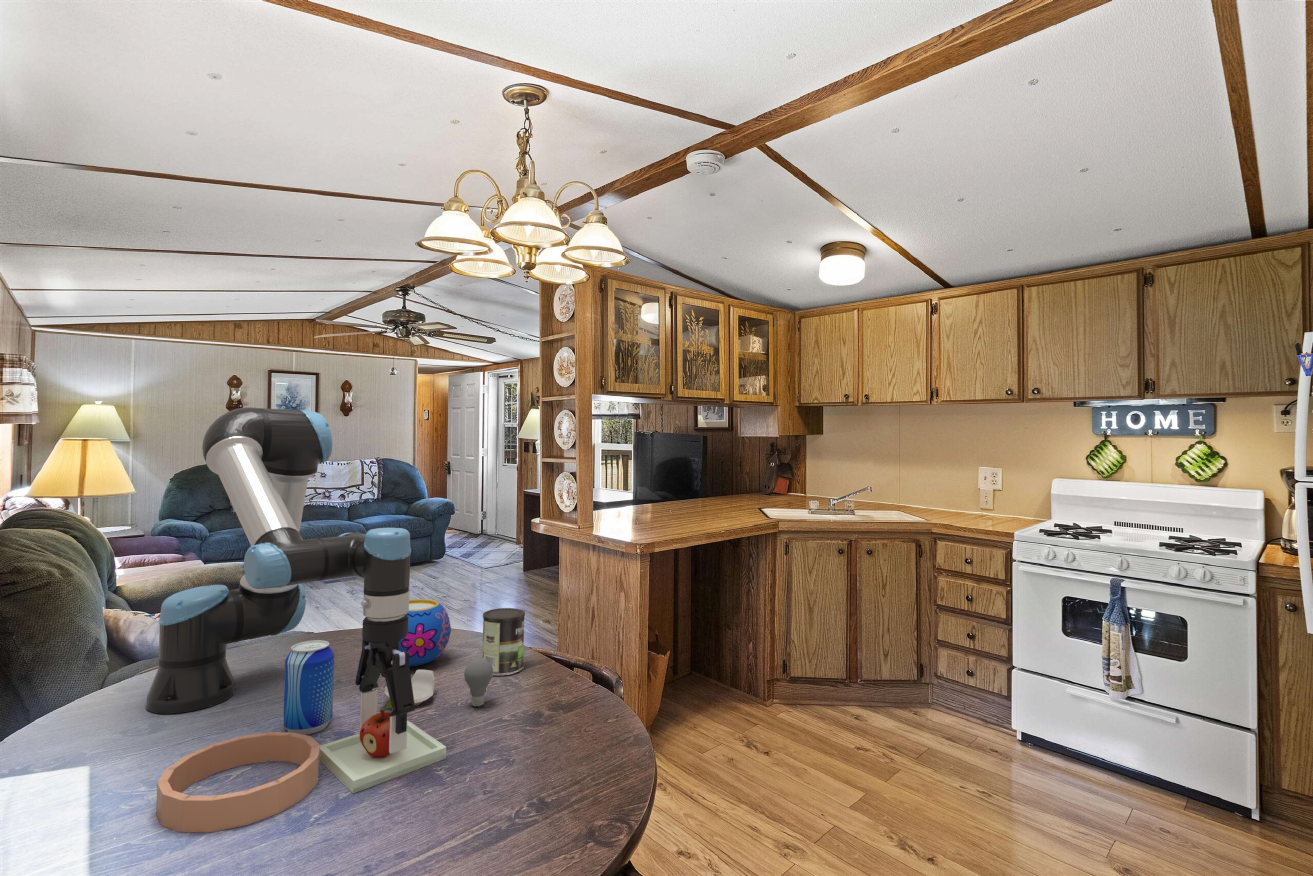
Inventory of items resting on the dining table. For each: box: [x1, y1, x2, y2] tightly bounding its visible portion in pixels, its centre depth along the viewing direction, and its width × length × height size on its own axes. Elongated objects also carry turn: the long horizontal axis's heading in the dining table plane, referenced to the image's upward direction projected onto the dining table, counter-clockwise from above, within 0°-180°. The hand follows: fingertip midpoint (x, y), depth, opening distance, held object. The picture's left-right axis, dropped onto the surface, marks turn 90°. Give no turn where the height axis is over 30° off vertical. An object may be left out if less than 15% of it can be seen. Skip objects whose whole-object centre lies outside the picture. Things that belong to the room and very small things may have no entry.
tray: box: [320, 719, 447, 794], centre depth 110 cm, size 16×16×2 cm
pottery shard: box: [379, 669, 436, 706], centre depth 135 cm, size 10×11×5 cm
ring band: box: [155, 731, 321, 833], centre depth 99 cm, size 21×21×4 cm
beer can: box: [283, 639, 335, 735], centre depth 122 cm, size 8×8×16 cm
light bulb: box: [463, 657, 494, 707], centre depth 133 cm, size 6×6×10 cm
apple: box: [359, 699, 392, 757], centre depth 110 cm, size 8×7×10 cm
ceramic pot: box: [399, 598, 452, 668], centre depth 158 cm, size 18×18×15 cm
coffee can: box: [481, 607, 526, 674], centre depth 155 cm, size 10×10×14 cm
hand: (382, 738), depth 110 cm, fingers open, 11 cm apart
